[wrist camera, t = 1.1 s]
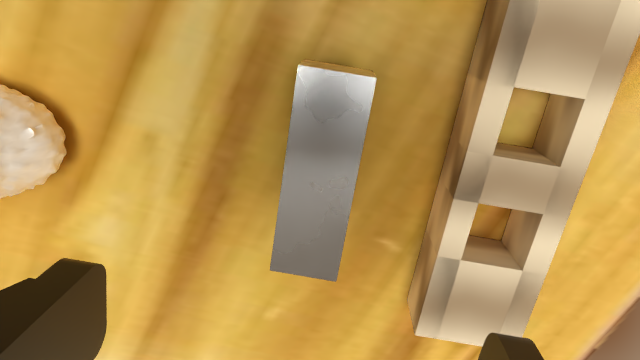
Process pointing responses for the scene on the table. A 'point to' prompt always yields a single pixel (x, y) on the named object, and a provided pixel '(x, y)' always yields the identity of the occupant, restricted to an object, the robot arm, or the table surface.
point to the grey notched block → (321, 167)
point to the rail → (517, 161)
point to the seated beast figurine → (27, 143)
